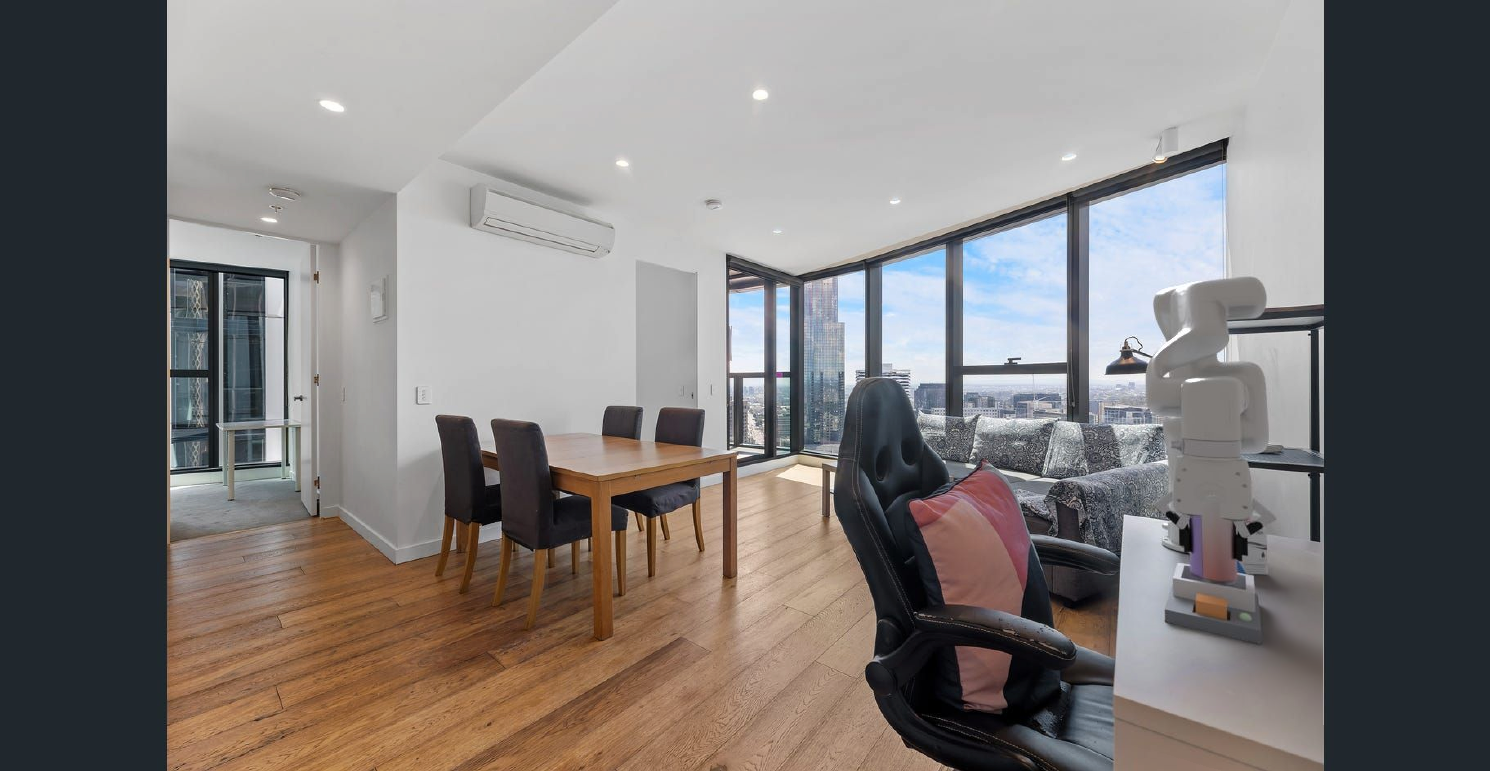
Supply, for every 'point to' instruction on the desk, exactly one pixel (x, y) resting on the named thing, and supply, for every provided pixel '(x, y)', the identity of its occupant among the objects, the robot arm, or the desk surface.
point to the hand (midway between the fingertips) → (1212, 553)
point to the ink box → (1255, 552)
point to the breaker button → (1211, 606)
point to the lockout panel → (1239, 597)
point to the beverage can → (1212, 545)
